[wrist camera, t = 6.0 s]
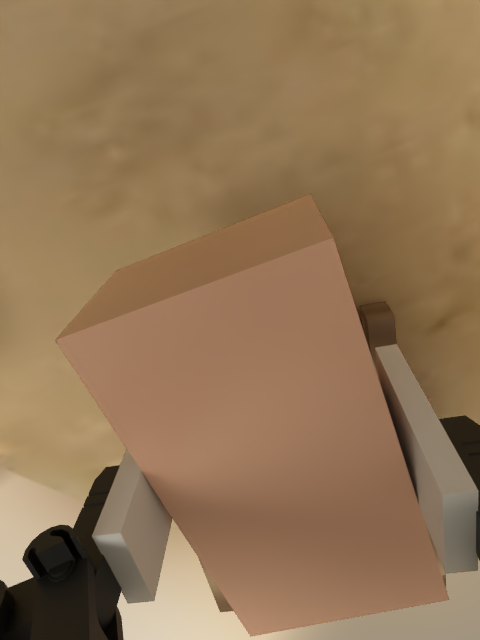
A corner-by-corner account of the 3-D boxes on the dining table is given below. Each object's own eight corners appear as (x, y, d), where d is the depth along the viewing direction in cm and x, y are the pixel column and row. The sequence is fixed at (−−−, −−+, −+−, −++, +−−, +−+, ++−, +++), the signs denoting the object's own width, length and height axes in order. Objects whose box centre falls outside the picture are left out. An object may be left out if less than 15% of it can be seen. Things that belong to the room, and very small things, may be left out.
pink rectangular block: (116, 270, 15) (54, 340, 11) (310, 194, 14) (333, 237, 9) (253, 518, 20) (250, 636, 16) (404, 481, 19) (449, 599, 14)
